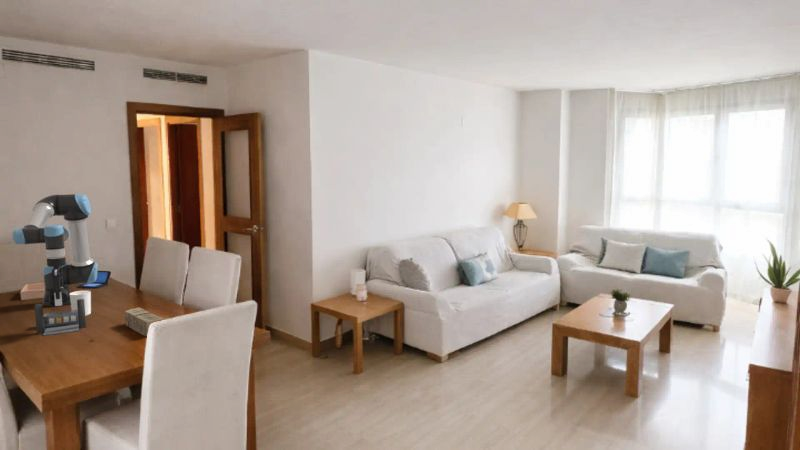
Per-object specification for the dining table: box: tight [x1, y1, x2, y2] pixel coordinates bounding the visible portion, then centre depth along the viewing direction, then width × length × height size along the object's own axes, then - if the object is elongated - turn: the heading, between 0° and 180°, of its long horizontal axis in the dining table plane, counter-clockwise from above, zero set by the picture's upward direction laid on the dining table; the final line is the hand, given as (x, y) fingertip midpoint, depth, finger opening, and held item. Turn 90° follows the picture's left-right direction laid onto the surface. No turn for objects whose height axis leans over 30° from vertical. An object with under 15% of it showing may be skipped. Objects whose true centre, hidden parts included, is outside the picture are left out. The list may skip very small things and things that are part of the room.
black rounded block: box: [50, 288, 68, 308], centre depth 244 cm, size 10×7×7 cm
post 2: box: [77, 299, 87, 329], centre depth 249 cm, size 3×3×14 cm
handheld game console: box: [77, 270, 112, 290], centre depth 336 cm, size 16×13×9 cm
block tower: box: [124, 307, 165, 337], centre depth 247 cm, size 8×8×29 cm
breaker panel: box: [43, 309, 79, 329], centre depth 254 cm, size 8×16×6 cm, turn 119°
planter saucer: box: [20, 282, 45, 301], centre depth 315 cm, size 21×20×5 cm
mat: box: [42, 324, 80, 337], centre depth 246 cm, size 11×14×1 cm
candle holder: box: [69, 290, 92, 317], centre depth 271 cm, size 10×10×12 cm
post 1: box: [34, 303, 45, 335], centre depth 241 cm, size 3×3×14 cm
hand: (59, 302), depth 244 cm, fingers closed on black rounded block, 10 cm apart
